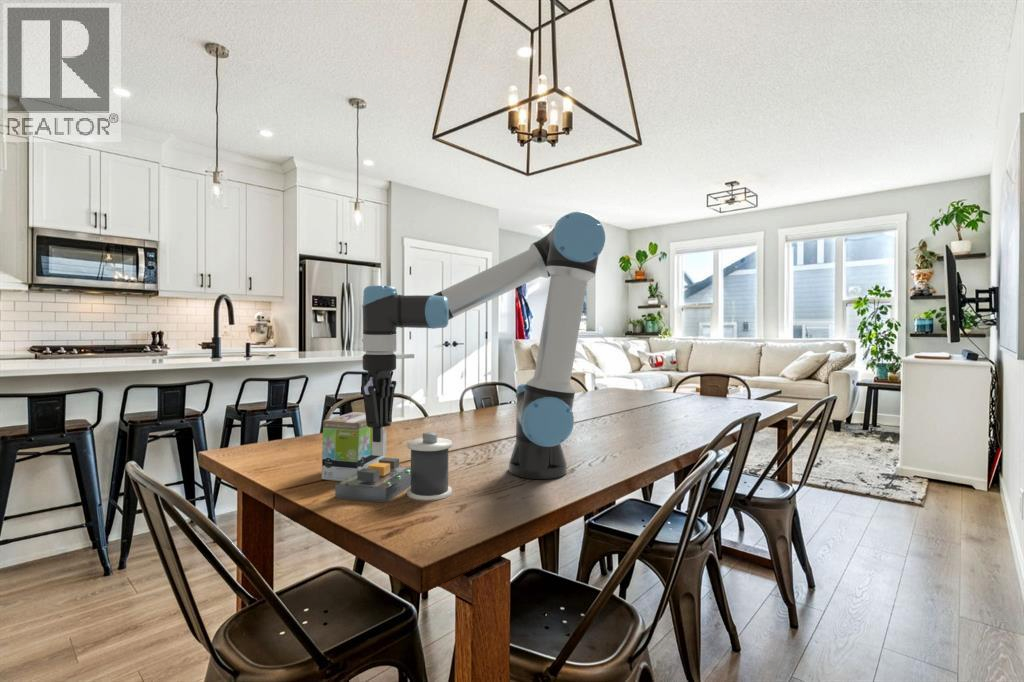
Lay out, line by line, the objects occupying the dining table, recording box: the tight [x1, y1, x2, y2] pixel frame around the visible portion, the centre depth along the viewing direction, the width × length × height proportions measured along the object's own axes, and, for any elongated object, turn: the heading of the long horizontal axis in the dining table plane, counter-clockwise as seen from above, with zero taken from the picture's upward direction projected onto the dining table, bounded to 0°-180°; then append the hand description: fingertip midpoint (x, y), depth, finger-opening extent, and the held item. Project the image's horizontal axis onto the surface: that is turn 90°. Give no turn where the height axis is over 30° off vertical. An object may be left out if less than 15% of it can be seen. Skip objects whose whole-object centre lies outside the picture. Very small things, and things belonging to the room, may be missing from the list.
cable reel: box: [406, 431, 453, 502], centre depth 117 cm, size 10×10×14 cm
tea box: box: [321, 411, 386, 482], centre depth 132 cm, size 15×10×15 cm
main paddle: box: [368, 462, 390, 476], centre depth 120 cm, size 4×3×2 cm
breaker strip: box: [334, 466, 411, 504], centre depth 120 cm, size 12×17×3 cm
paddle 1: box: [357, 468, 379, 482], centre depth 115 cm, size 4×3×2 cm, turn 77°
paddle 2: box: [379, 457, 400, 470], centre depth 125 cm, size 4×3×2 cm, turn 77°
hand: (379, 454), depth 120 cm, fingers closed
